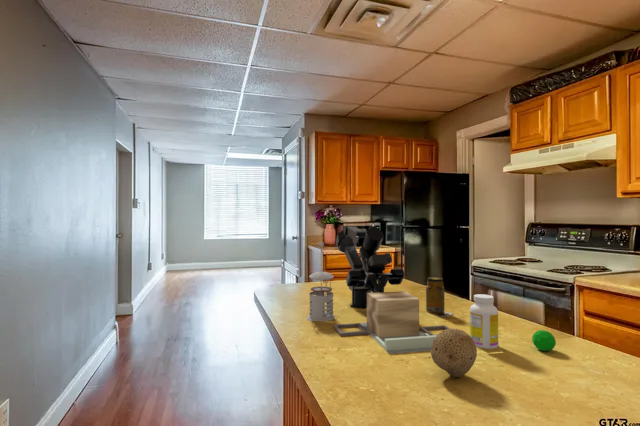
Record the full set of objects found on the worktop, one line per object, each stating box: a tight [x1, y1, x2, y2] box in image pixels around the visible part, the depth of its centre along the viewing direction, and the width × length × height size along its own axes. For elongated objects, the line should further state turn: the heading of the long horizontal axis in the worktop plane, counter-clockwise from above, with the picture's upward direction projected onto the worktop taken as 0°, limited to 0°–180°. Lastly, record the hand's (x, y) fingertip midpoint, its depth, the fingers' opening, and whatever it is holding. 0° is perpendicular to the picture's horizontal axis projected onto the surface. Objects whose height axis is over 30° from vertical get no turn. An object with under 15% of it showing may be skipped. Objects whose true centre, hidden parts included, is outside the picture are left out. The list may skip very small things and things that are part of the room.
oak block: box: [366, 291, 420, 337], centre depth 105 cm, size 10×12×10 cm
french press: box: [306, 241, 336, 323], centre depth 120 cm, size 10×12×25 cm
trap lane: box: [333, 322, 451, 355], centre depth 101 cm, size 25×32×3 cm
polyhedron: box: [531, 329, 557, 352], centre depth 91 cm, size 5×5×5 cm
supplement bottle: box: [469, 293, 499, 350], centre depth 94 cm, size 7×7×13 cm
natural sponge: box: [430, 328, 478, 378], centre depth 76 cm, size 9×9×10 cm
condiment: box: [425, 276, 454, 318], centre depth 125 cm, size 7×8×12 cm
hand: (381, 299), depth 114 cm, fingers closed
